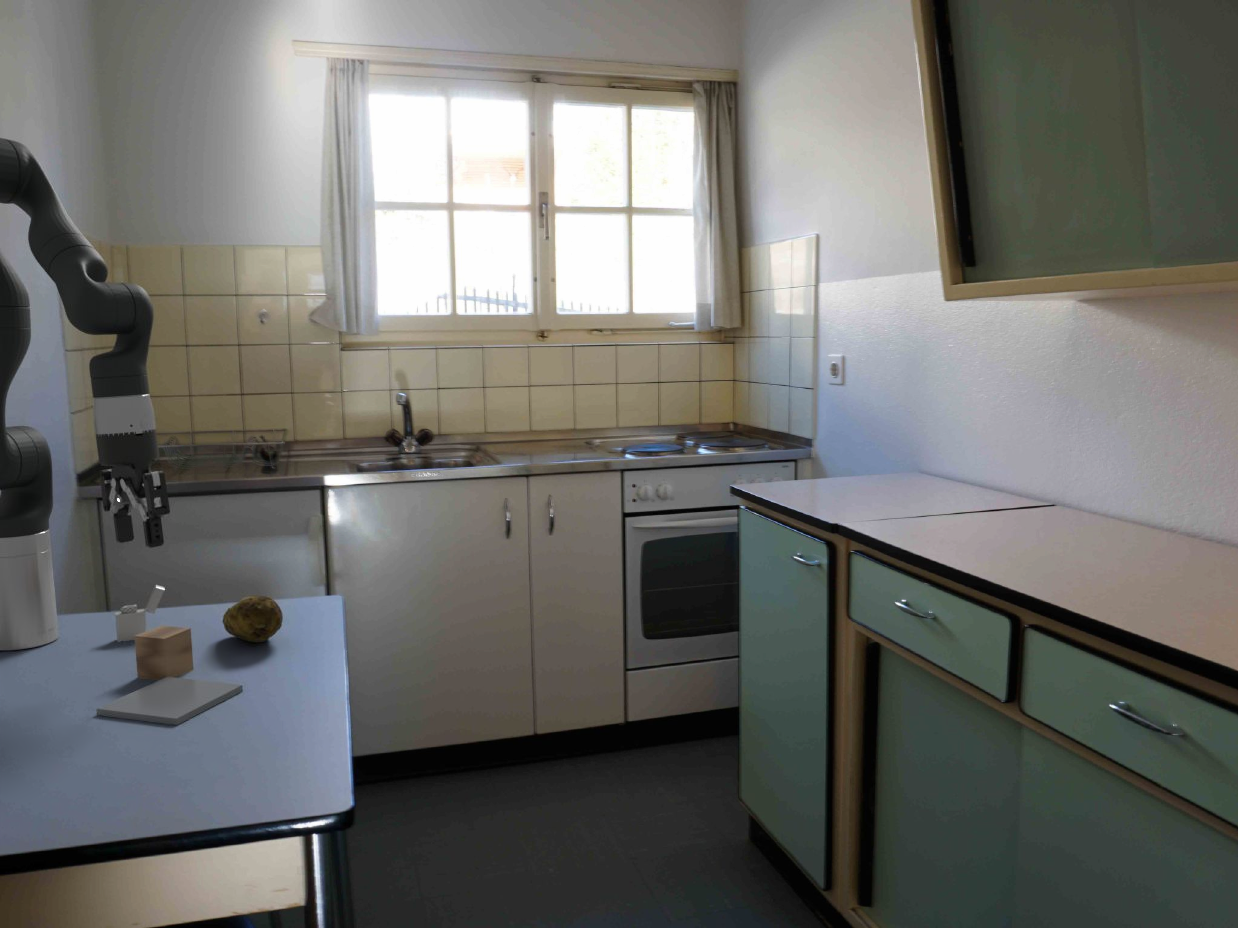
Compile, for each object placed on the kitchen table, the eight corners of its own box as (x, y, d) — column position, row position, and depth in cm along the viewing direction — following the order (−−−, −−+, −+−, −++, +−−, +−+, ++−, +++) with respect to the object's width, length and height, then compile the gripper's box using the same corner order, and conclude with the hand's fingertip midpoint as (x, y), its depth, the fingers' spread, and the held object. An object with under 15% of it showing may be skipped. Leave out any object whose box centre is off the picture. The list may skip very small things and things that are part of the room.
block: (137, 678, 135) (134, 635, 134) (164, 666, 139) (161, 625, 139) (167, 681, 133) (164, 638, 132) (193, 669, 138) (190, 628, 137)
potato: (278, 628, 157) (276, 579, 156) (286, 651, 145) (283, 599, 144) (223, 635, 154) (219, 585, 153) (226, 659, 142) (222, 605, 141)
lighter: (117, 642, 151) (113, 591, 150) (117, 639, 152) (113, 589, 151) (168, 635, 154) (164, 585, 153) (167, 632, 156) (164, 583, 155)
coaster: (96, 714, 121) (96, 708, 121) (167, 682, 132) (167, 676, 132) (176, 724, 118) (176, 718, 117) (242, 690, 129) (242, 684, 129)
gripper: (74, 431, 137) (89, 545, 139) (122, 432, 128) (138, 553, 130) (128, 426, 143) (142, 535, 144) (178, 426, 134) (192, 542, 136)
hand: (140, 544), depth 137 cm, fingers open, 8 cm apart
